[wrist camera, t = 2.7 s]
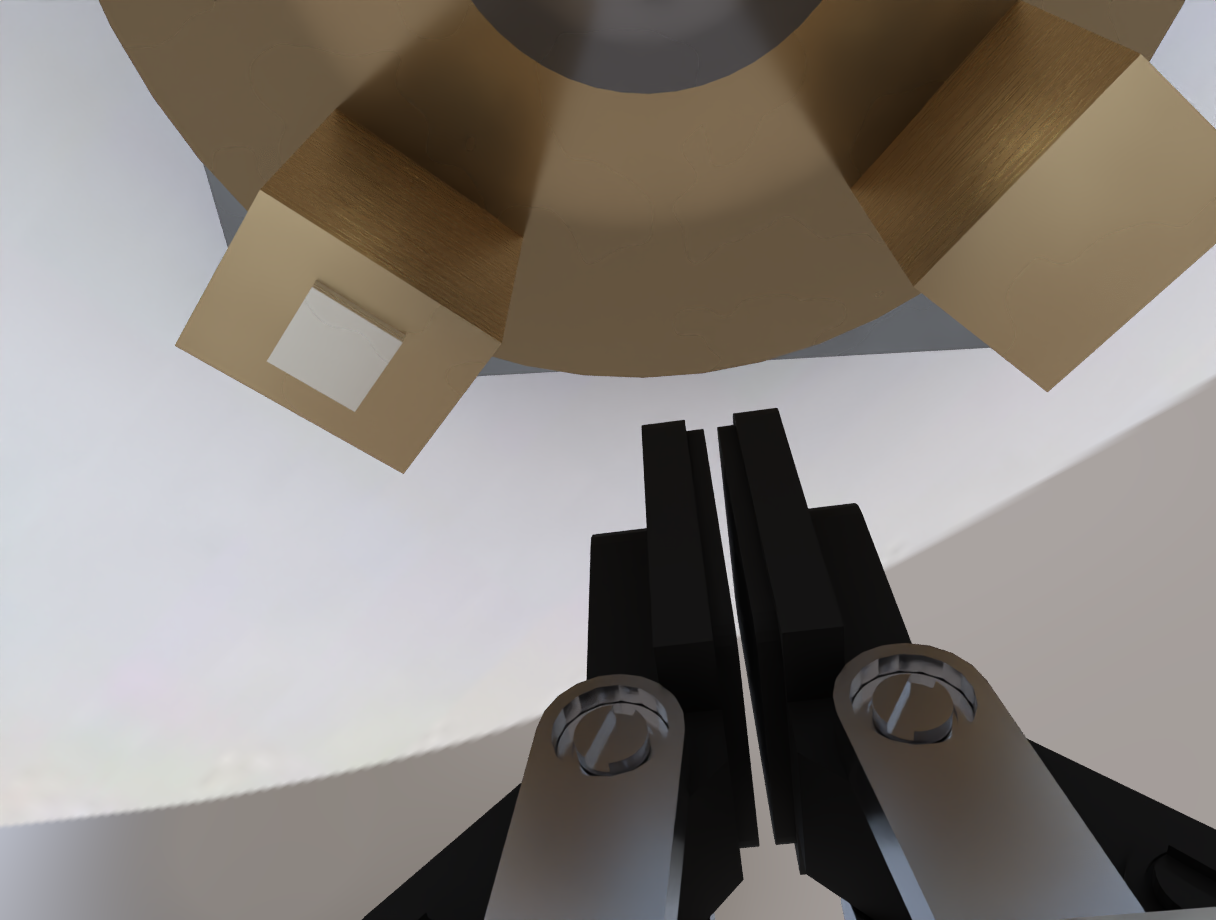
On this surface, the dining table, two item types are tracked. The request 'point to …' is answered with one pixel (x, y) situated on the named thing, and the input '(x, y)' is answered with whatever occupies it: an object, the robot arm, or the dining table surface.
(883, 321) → the mounting plate
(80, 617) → the dining table surface
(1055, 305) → the ring nut
